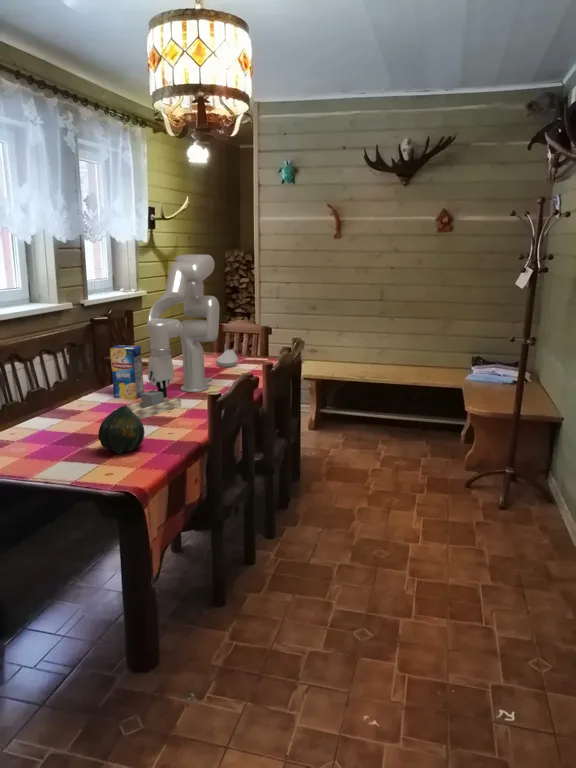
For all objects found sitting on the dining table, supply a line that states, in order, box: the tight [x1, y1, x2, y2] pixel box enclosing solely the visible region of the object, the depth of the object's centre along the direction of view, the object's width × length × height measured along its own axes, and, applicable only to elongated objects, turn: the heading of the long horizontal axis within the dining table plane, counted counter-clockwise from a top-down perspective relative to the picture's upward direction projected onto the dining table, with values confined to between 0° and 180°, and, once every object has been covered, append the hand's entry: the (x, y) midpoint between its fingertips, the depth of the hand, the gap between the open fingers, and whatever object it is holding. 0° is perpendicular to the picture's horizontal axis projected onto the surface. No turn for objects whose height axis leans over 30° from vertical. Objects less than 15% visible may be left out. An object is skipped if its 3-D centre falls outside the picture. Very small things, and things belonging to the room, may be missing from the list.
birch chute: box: [113, 396, 182, 420], centre depth 240 cm, size 26×9×4 cm, turn 143°
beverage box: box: [109, 344, 145, 400], centre depth 262 cm, size 7×11×22 cm, turn 75°
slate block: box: [141, 389, 164, 408], centre depth 241 cm, size 6×6×6 cm
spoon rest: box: [215, 348, 239, 368], centre depth 329 cm, size 24×12×7 cm, turn 178°
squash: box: [97, 405, 146, 455], centre depth 199 cm, size 14×15×15 cm
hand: (162, 397), depth 245 cm, fingers closed
